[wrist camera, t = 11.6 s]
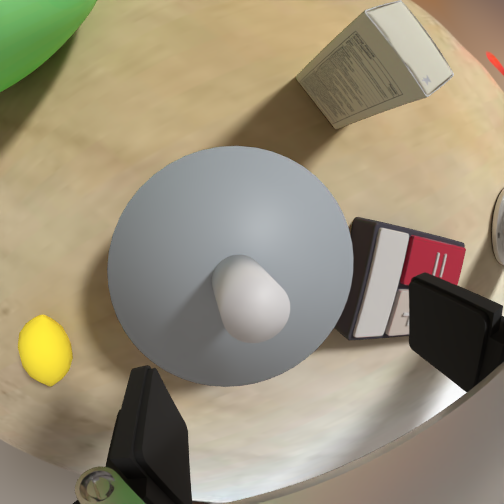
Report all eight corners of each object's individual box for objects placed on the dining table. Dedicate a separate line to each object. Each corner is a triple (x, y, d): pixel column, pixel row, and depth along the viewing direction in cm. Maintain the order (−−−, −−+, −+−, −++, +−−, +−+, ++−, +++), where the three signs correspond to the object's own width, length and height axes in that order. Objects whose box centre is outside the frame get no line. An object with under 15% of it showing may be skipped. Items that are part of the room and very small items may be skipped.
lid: (321, 126, 18) (370, 107, 13) (358, 336, 22) (400, 372, 17) (78, 192, 16) (36, 195, 10) (164, 402, 20) (163, 458, 14)
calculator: (445, 334, 29) (350, 345, 25) (422, 321, 33) (328, 325, 29) (470, 244, 27) (381, 222, 23) (444, 237, 31) (352, 215, 27)
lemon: (31, 302, 22) (4, 317, 17) (78, 311, 23) (57, 329, 18) (36, 367, 22) (15, 391, 17) (81, 378, 24) (66, 405, 18)
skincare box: (364, 109, 25) (458, 79, 13) (334, 131, 24) (430, 103, 13) (324, 56, 23) (403, -3, 11) (291, 74, 23) (364, 9, 11)
